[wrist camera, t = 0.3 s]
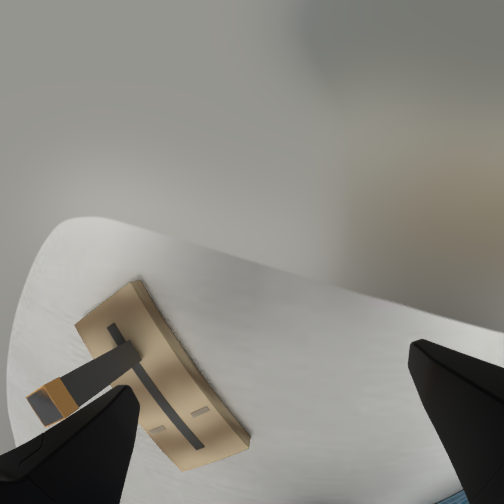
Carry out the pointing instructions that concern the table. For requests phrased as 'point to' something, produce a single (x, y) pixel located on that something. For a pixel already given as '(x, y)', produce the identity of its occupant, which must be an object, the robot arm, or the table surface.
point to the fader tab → (81, 384)
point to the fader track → (164, 381)
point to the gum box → (456, 499)
